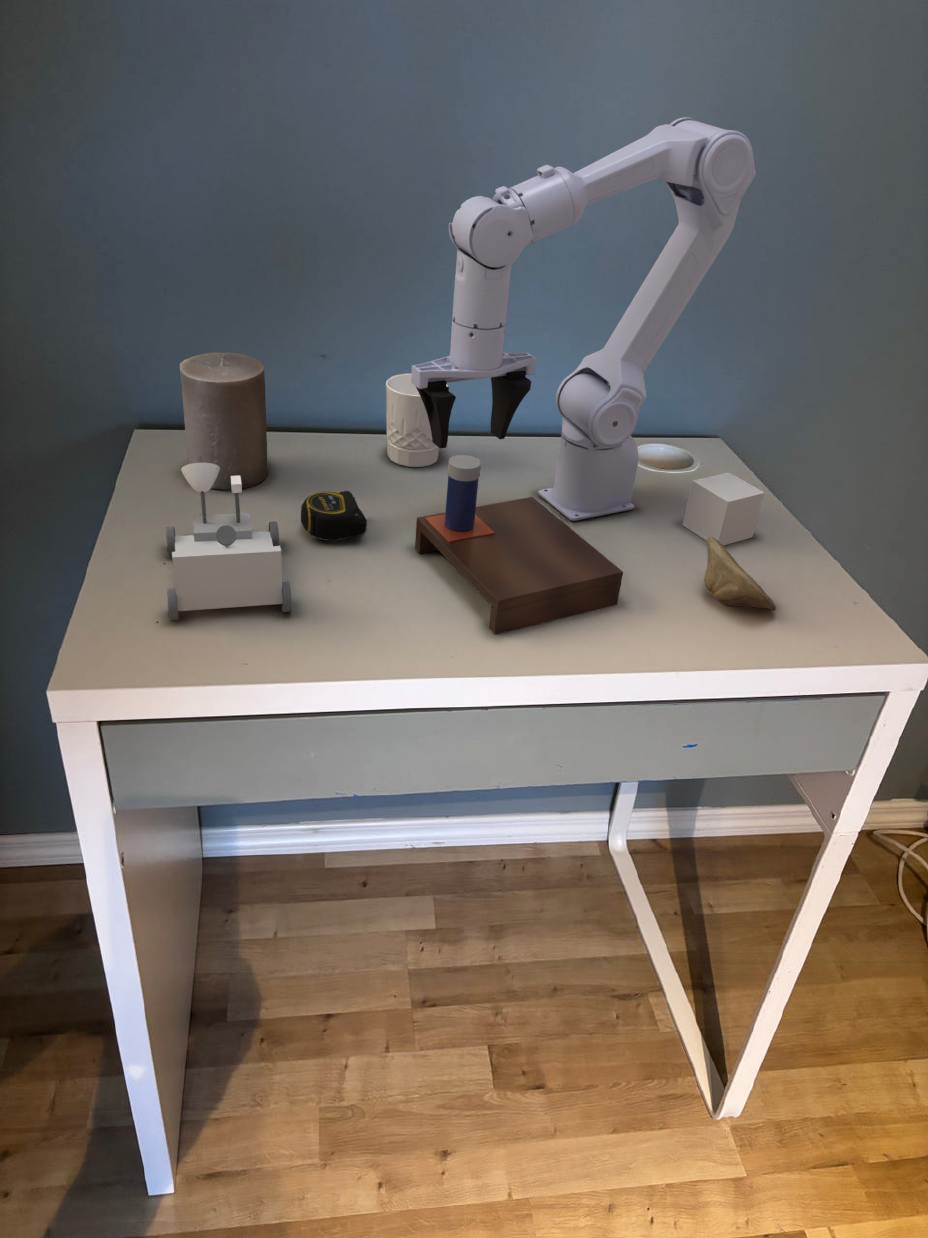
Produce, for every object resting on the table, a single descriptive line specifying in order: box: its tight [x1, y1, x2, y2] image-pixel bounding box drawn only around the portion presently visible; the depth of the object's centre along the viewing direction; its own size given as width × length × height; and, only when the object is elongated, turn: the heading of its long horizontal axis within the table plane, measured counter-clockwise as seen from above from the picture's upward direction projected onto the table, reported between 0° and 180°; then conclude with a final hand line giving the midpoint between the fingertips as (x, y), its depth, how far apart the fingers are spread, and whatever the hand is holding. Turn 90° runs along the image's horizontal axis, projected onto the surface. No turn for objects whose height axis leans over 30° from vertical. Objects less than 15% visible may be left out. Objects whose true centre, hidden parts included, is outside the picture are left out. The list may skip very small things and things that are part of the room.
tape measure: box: [300, 490, 368, 541], centre depth 111 cm, size 7×7×4 cm
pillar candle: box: [179, 352, 269, 491], centre depth 118 cm, size 10×10×15 cm
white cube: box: [682, 471, 765, 546], centre depth 118 cm, size 6×6×6 cm
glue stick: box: [444, 454, 482, 532], centre depth 105 cm, size 3×3×8 cm
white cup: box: [385, 373, 449, 468], centre depth 127 cm, size 8×8×10 cm
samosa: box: [703, 536, 777, 611], centre depth 105 cm, size 9×4×10 cm
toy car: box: [165, 456, 293, 621], centre depth 100 cm, size 18×10×12 cm
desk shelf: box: [414, 496, 624, 635], centre depth 106 cm, size 15×18×4 cm
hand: (468, 440), depth 112 cm, fingers open, 7 cm apart
